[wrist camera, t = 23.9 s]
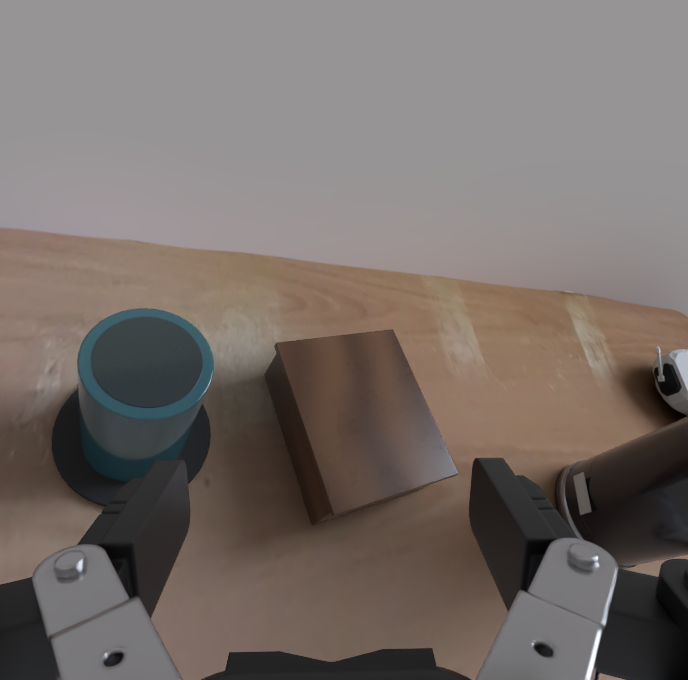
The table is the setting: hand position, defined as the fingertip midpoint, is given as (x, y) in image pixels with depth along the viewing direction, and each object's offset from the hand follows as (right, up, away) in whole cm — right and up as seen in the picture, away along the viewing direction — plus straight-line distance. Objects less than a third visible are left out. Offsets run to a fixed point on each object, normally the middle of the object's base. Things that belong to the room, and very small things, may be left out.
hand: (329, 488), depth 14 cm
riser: (0, -3, +26) cm, 26 cm away
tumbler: (-13, -2, +19) cm, 23 cm away
